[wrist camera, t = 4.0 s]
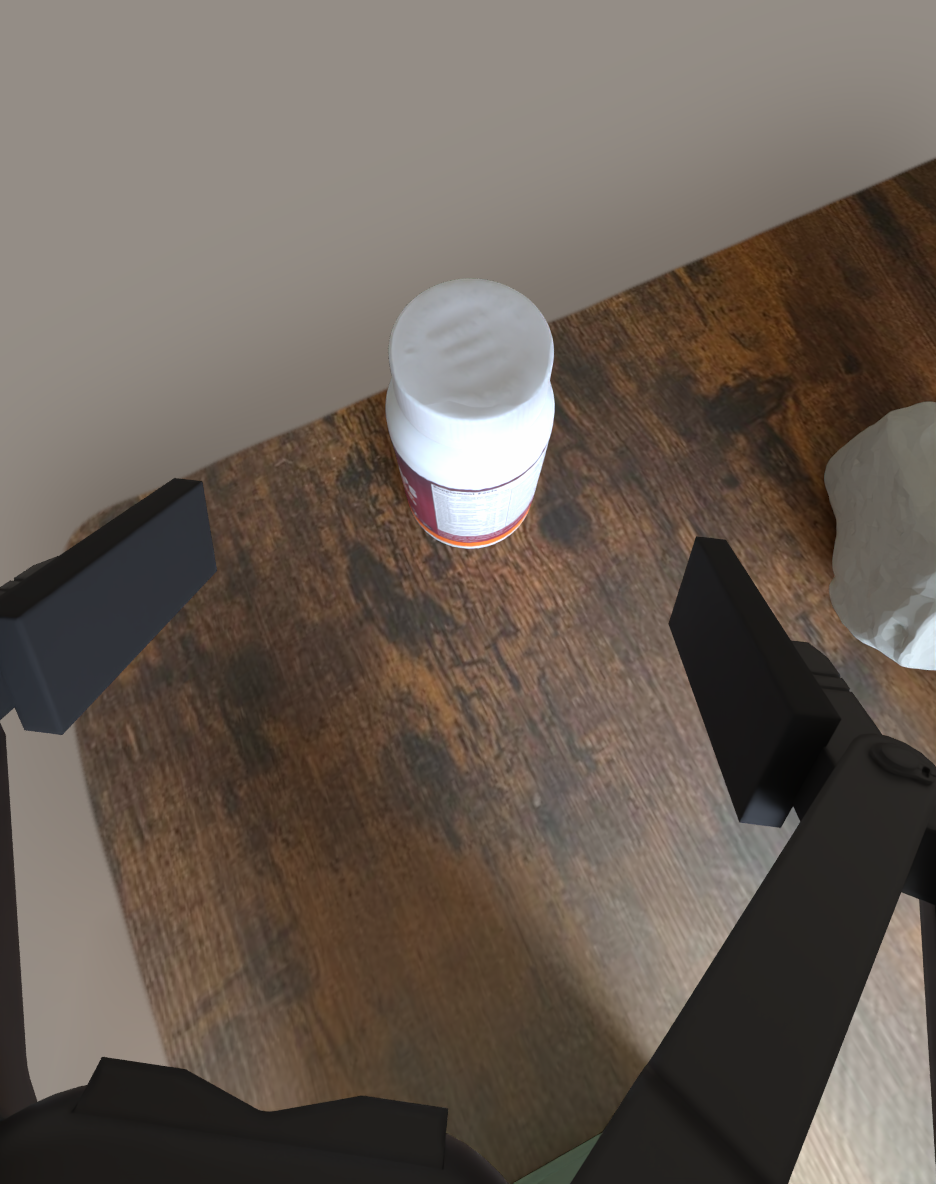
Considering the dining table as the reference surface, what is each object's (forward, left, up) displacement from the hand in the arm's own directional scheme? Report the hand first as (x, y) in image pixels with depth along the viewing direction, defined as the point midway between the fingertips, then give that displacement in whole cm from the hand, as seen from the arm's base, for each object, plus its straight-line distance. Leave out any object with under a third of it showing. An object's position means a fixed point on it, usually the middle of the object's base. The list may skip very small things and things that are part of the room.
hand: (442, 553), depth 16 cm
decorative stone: (+19, +11, -12) cm, 25 cm away
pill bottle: (-2, +7, -12) cm, 14 cm away
